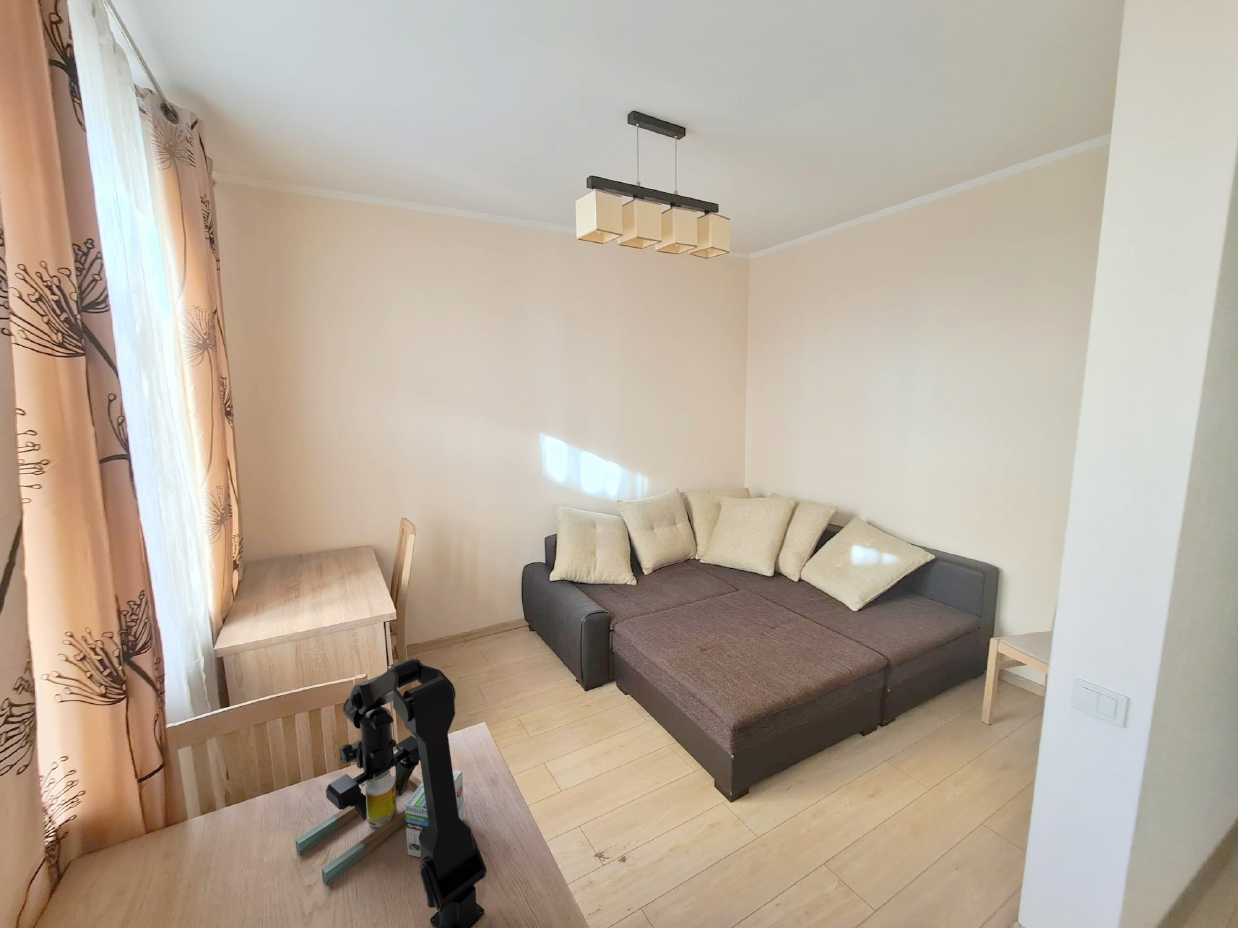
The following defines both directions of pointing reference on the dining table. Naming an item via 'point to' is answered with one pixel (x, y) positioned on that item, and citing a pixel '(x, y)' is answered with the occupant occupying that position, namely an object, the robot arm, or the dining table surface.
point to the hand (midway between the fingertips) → (381, 806)
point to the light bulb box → (419, 816)
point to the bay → (359, 849)
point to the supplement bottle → (381, 799)
